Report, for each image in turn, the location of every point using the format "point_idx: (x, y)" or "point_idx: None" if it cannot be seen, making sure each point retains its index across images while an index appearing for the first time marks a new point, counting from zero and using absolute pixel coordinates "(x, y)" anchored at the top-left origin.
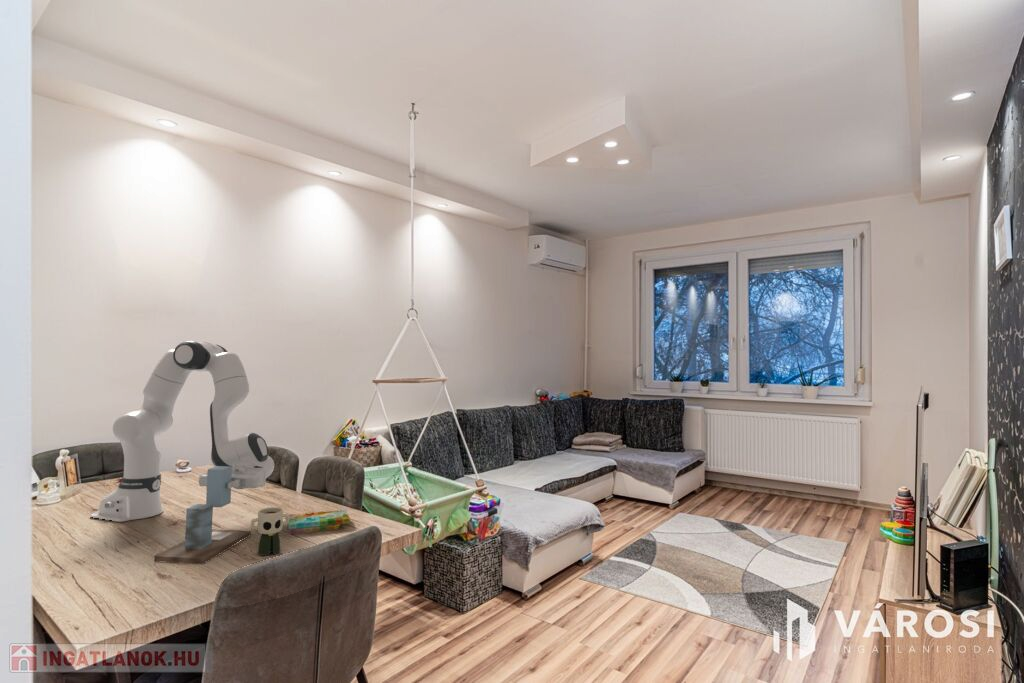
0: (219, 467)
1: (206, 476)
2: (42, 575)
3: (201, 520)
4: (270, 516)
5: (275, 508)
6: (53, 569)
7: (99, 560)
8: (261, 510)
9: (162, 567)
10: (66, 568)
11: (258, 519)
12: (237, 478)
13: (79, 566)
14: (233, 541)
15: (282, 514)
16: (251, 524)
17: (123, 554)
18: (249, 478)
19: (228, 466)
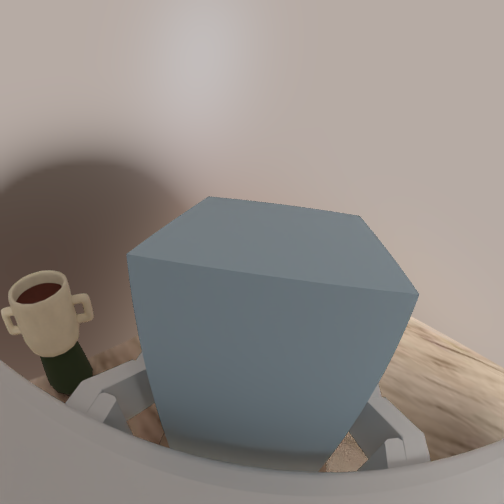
0: (301, 238)
1: (490, 444)
2: (430, 327)
3: None
4: (48, 277)
5: (18, 304)
6: (441, 340)
7: (422, 370)
8: (54, 295)
9: None
10: (430, 343)
11: (71, 296)
12: (91, 419)
13: (423, 350)
14: (159, 443)
15: (18, 293)
16: (90, 304)
17: (413, 397)
18: (1, 361)
19: (184, 260)
